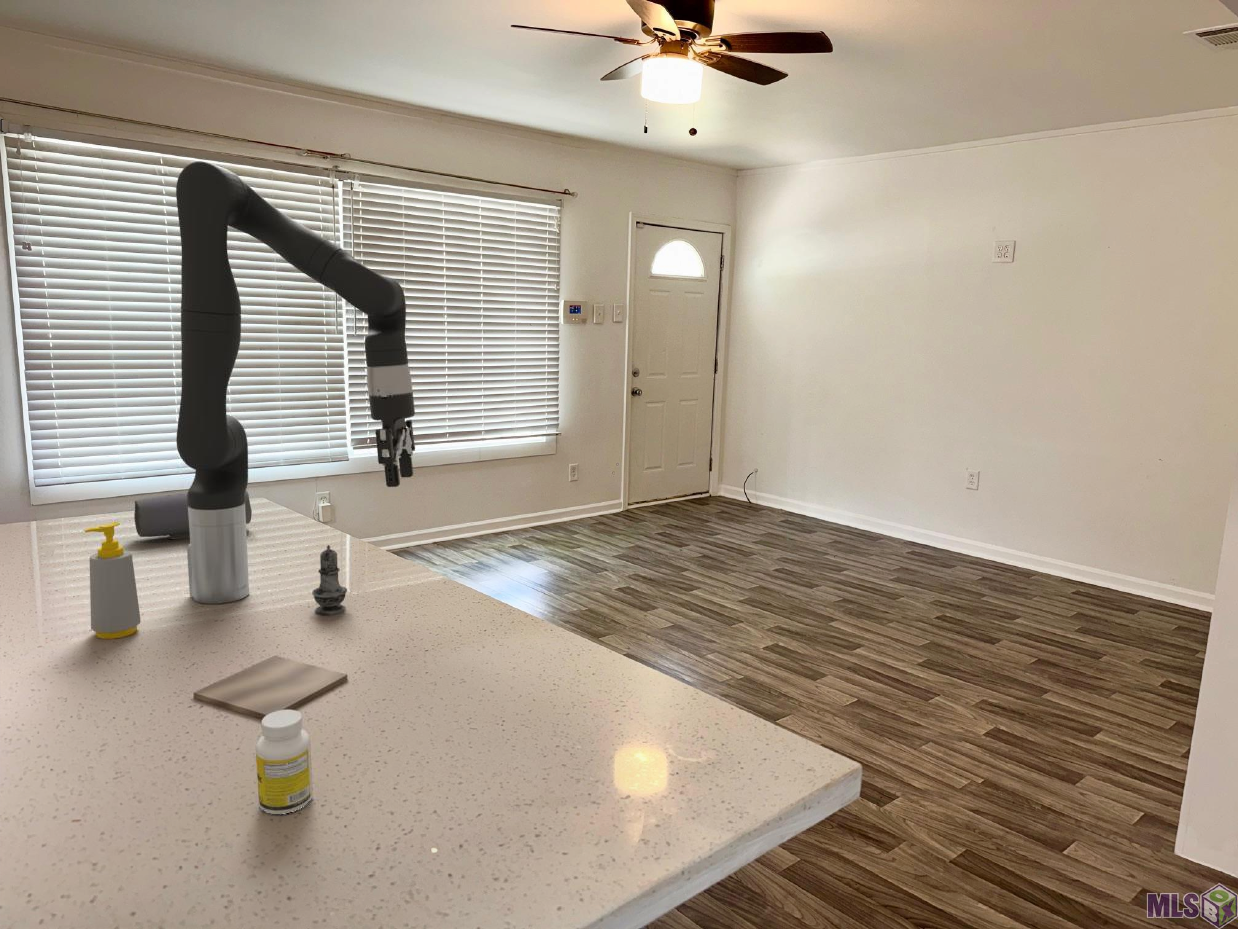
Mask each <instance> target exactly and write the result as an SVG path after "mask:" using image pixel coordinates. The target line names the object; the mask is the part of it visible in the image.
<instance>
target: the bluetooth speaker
mask: <svg viewBox="0 0 1238 929" xmlns="http://www.w3.org/2000/svg"><path fill="white" fill-rule="evenodd" d="M187 494H188V492H184V493H178V494H177V493H175V494H169V495H168V494H167V495H161V496H153V497H152V496H151V497H147V498H146V497H145V498H142V499H141V498H140V499H137V500H135V501H134V512H133V513H134V514H133V516H134V517H133V518H134V524H135V530H136V533H137V535H138V536H139V537H140V538H150V537H153V538H154V537H167V536H168V537H169V538H170V539H171V540H178V539H185V538H186V539H187V538H190V531H189V516H188V500H187ZM252 514H253V513H252V506H251V501H250V495H249V492H248V491H247V490H246V491H245V515H246V525H248V524H250V523H251V520H252Z"/></svg>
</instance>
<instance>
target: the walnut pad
mask: <svg viewBox="0 0 1238 929" xmlns="http://www.w3.org/2000/svg"><path fill="white" fill-rule="evenodd" d="M348 679H349V678H348V674H346V673H342V672H339V671H336V670H331V669H327V668H323V667H322V666H321V667H320V666H316V665H313V664H308V663H304V662H301V661H298V660H294V659H290V658H285V657H281V656H279V655H273V656H270V657H268V658H266V659H264V660H262V661H260V662H257V663H255V664H252V665H251V666H249V667H247V668H245V669H242V670H239V671H238V672H236V673H233V674H231V675H229V676H227V677H225V678H223V679H220V680H218V681H216V682H213V683H211V684H210V685H209V684H208V685H207V686H205V687H203V688H201V689H198V690H196V691H193V699H196V700H199V701H202V702H205V703H209V704H212V705H213V706H214V705H215V706H219V707H222V708H224V709H228V710H230V711H234V712H237V713H241V714H244V715H248V716H250V717H254V718H257V719H260V720H262V719H263V718H264V717H265V716H267V715H268V714H270V713H273V712H275V711H280V710H296V709H297V708H299V707H300V706H303V705H304V704H306V703H308V702H310V701H311V700H313V699H315V698H317V697H319V696H322V694H324V693H326V692H328V691H330V690H332V689H333V688H335V687H337V686H339V685H341V684H342V683H345V682H346V681H348Z"/></svg>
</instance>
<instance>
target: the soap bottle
mask: <svg viewBox="0 0 1238 929" xmlns="http://www.w3.org/2000/svg"><path fill="white" fill-rule="evenodd" d="M119 525H120V522H118V521H117V522H112V523H109V524H104V525H100V526H93V527H88V528H86V529H84V532H85V533H93V532H94V533H95V532H96V533H103V535H104V537H106V538H105V540H103V541H101V544H100V545H101V547H98V548H97V552H95V553H93V554H91V555H90V556H89V591H90V594H89V597H90V598H89V599H90V629H91V630H92V631H94V633H95V636H96V637H97V638H99V639H104V640H106V639H107V640H110V639H111V640H112V639H121V638H123V637H128V636H129V635H133V634H134V633H136V631H137V628H138V625H140V624H141V622H142V621H141V618H142V617H141V613H140V612H141V611H140V606H139V599H138V589H137V583H136V575H135V567H134V560H133V559H134V558H133V554H132V552H131V551H130V550H126V549H124V547H123V546H122V545H119V540H117V539H114V536H115V527H118V526H119Z"/></svg>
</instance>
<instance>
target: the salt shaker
mask: <svg viewBox="0 0 1238 929" xmlns="http://www.w3.org/2000/svg"><path fill="white" fill-rule="evenodd" d="M319 560H320V562H319V563H320V568H319V569H318V573H319V575H320V576H319V578H320V583H319V586H318V587H317V588H315V589H313V590H312V593H311V594H312V596H313V599H314V600H315V602H316V604H318V605H319V606H318V607H316V608H315V609H314V610H313V611H314V612H313V613H314V614H316V615H318V616H325V617H327V616H329V617H331V616H337V615H341V614H343V613H344V611H345V612H346V610H347V607H346V606H344V605H343V604H342V602H343V601H344V600H345V598H346V593H347V592H348V588H346V586H342V585H341V584H340V581H339V572H340V571H341V570H340V568H339V566H338V553H337V551H336V550H334V549H331V546H330V545H329V544H328V545H327V546H326V549H325V550H323V551H321V553H320V557H319ZM340 613H341V614H340Z"/></svg>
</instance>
